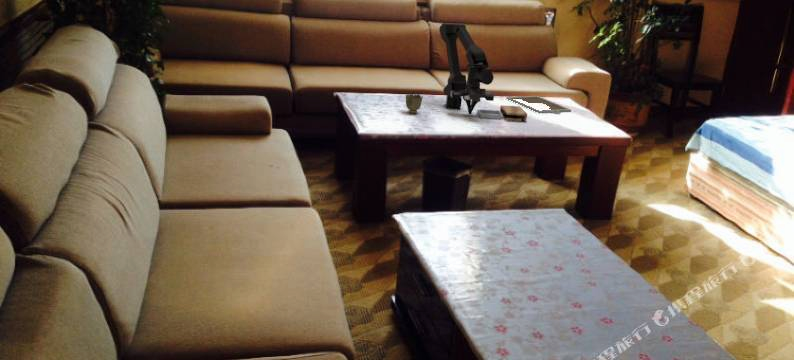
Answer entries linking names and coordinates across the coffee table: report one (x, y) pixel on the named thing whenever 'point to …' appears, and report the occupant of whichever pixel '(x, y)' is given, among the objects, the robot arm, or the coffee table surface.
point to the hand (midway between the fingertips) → (469, 113)
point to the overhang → (514, 112)
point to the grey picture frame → (536, 99)
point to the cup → (413, 102)
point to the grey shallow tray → (490, 114)
